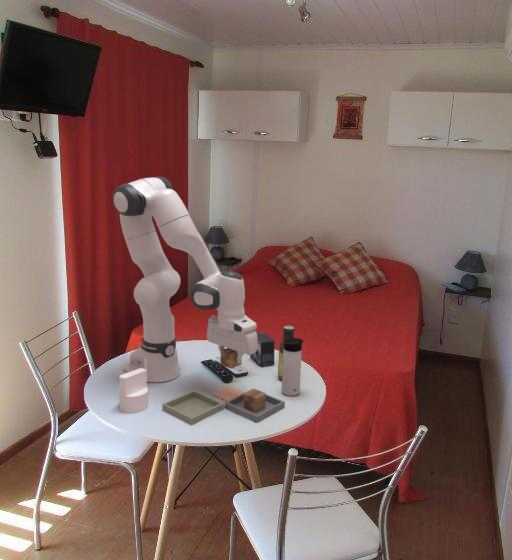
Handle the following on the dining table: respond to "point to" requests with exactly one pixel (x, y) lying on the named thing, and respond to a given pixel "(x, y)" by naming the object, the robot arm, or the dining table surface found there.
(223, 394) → the terracotta tile
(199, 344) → the dining table surface
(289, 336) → the sauce bottle
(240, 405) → the tray charcoal
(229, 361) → the letter cube
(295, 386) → the travel mug
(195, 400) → the tray olive
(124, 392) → the cylinder with rectangular tab
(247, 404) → the plain block
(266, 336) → the small box
